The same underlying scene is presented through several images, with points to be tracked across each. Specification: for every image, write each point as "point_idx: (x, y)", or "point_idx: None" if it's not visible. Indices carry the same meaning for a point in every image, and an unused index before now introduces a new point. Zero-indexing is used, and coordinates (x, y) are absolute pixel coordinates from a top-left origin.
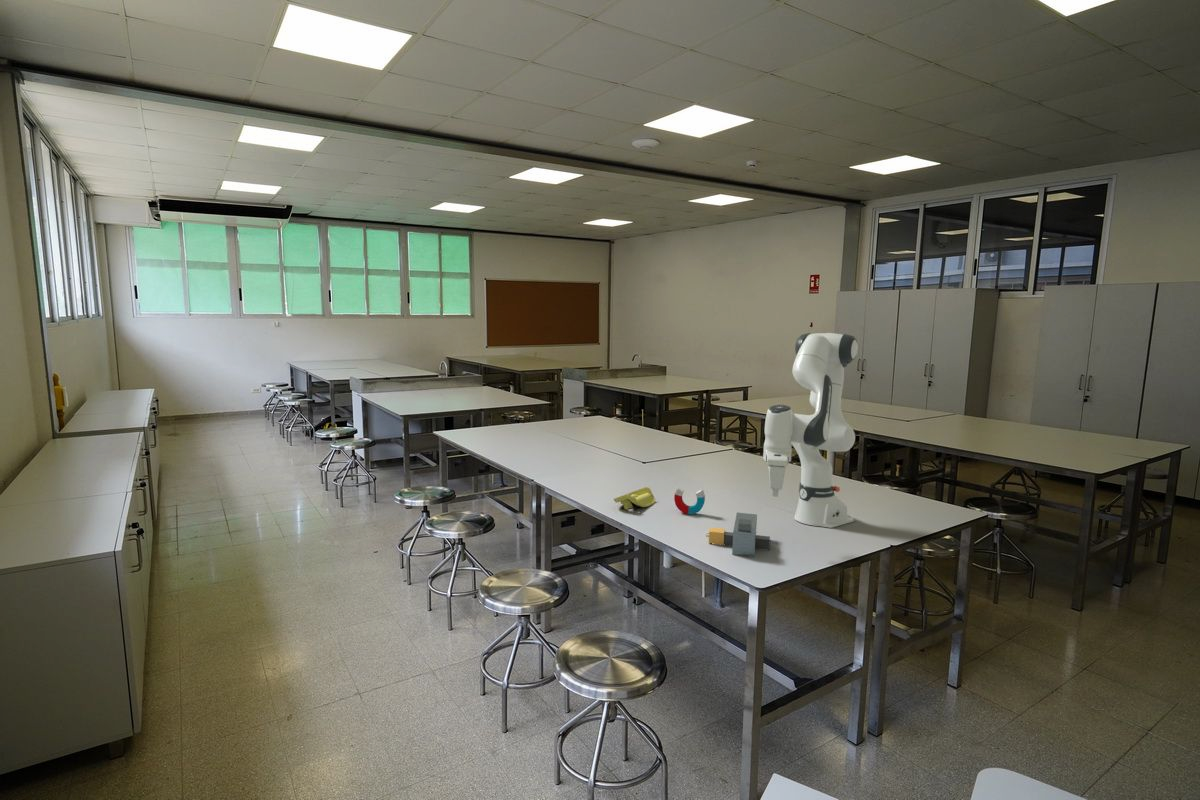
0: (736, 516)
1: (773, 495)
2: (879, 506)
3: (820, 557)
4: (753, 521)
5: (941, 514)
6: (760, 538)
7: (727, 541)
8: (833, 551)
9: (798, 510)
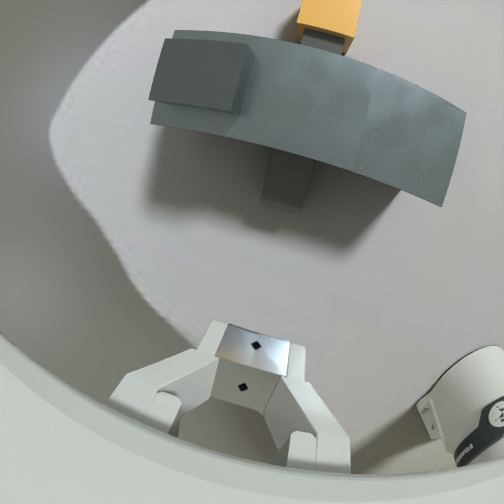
0: (408, 83)
1: (211, 327)
2: None
3: None
4: (333, 148)
5: None
6: (273, 167)
7: None
8: None
9: (493, 368)
